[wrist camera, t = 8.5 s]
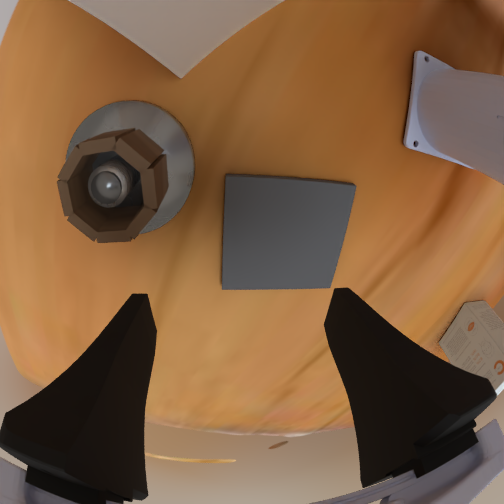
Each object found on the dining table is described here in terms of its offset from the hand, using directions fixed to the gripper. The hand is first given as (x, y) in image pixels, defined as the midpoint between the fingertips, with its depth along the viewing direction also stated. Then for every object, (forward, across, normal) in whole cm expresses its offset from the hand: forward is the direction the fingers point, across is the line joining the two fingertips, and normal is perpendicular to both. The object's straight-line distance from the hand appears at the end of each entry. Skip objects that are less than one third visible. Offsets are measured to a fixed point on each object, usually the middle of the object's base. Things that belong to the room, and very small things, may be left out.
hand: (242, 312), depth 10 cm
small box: (+10, -34, +16) cm, 39 cm away
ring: (+9, +7, -3) cm, 12 cm away
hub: (+10, +7, -3) cm, 12 cm away
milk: (+10, +3, -17) cm, 20 cm away
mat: (+10, -4, +2) cm, 11 cm away
